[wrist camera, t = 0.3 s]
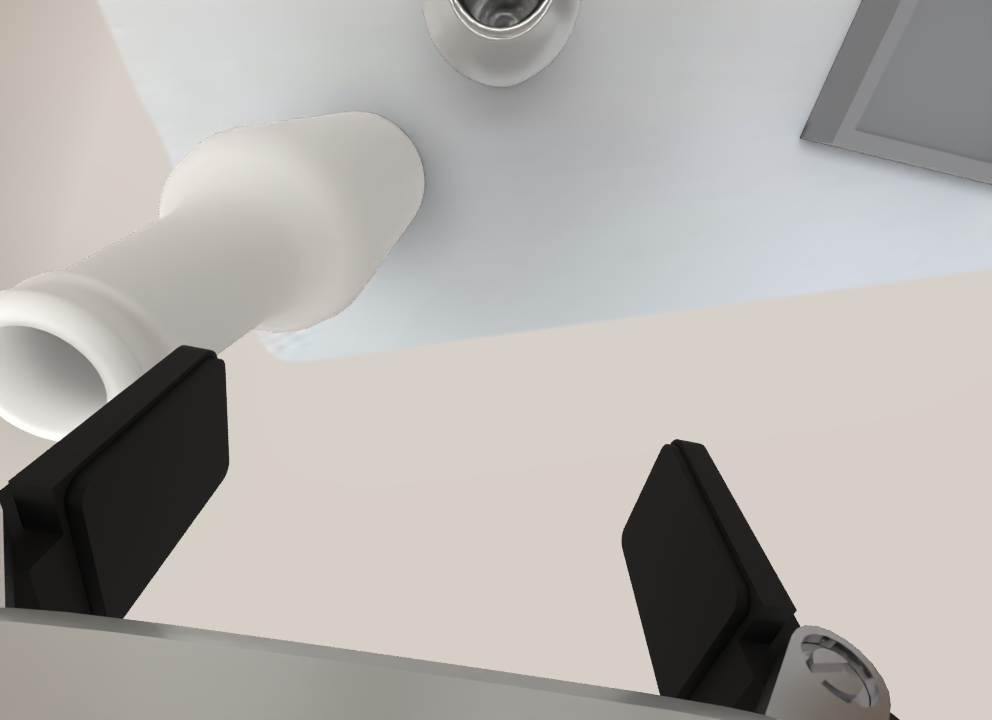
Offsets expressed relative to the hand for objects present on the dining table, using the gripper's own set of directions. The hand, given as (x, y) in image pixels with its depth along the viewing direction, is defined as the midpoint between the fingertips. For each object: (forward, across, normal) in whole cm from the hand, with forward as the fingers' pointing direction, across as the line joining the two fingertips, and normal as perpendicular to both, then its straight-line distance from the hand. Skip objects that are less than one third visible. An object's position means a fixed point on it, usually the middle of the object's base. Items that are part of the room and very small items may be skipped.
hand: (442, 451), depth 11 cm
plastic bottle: (+31, +1, -10) cm, 33 cm away
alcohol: (+31, +9, +1) cm, 32 cm away
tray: (+31, -29, -14) cm, 45 cm away
